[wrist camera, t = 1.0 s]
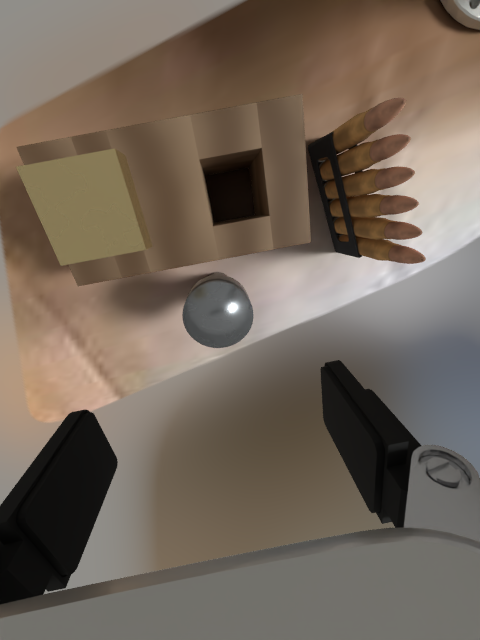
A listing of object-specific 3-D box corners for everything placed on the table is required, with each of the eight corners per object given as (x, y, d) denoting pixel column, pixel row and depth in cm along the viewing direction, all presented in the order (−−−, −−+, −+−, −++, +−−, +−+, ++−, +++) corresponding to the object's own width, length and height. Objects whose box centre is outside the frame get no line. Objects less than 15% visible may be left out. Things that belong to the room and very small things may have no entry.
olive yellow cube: (140, 164, 17) (114, 148, 13) (162, 241, 19) (146, 249, 15) (66, 178, 17) (15, 166, 13) (96, 253, 19) (60, 265, 15)
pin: (238, 256, 27) (247, 276, 18) (246, 302, 29) (257, 341, 21) (188, 265, 27) (174, 290, 18) (200, 311, 29) (192, 353, 21)
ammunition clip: (306, 146, 24) (383, 87, 13) (325, 136, 24) (419, 70, 13) (335, 252, 28) (412, 278, 17) (351, 245, 28) (439, 267, 17)
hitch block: (275, 131, 23) (302, 93, 16) (285, 234, 27) (311, 242, 19) (80, 168, 23) (16, 147, 16) (116, 266, 27) (77, 286, 19)
